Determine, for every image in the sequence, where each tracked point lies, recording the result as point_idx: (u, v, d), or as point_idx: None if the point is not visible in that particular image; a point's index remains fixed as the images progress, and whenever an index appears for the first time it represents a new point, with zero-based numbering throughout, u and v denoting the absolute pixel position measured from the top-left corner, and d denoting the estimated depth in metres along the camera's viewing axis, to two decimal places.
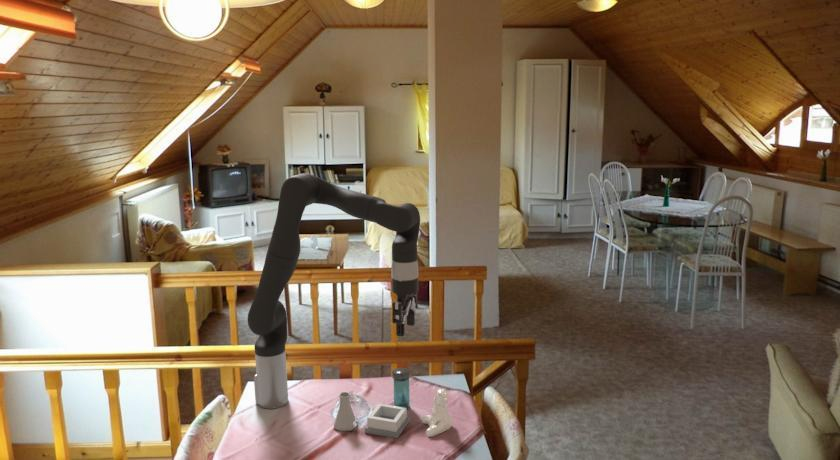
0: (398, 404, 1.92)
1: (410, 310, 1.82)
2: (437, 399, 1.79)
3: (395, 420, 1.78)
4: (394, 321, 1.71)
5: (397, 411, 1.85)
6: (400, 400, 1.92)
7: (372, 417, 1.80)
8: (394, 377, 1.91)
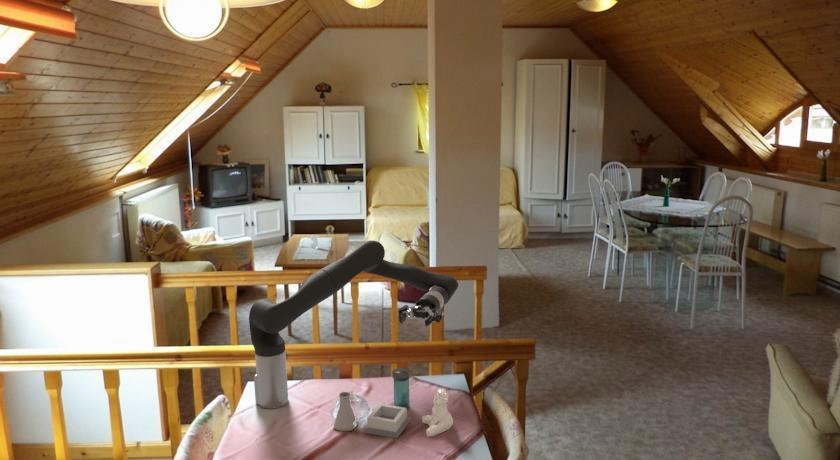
0: (398, 404, 1.92)
1: None
2: (437, 399, 1.79)
3: (395, 420, 1.78)
4: (439, 316, 2.01)
5: (397, 411, 1.85)
6: (400, 400, 1.92)
7: (372, 417, 1.80)
8: (394, 377, 1.91)
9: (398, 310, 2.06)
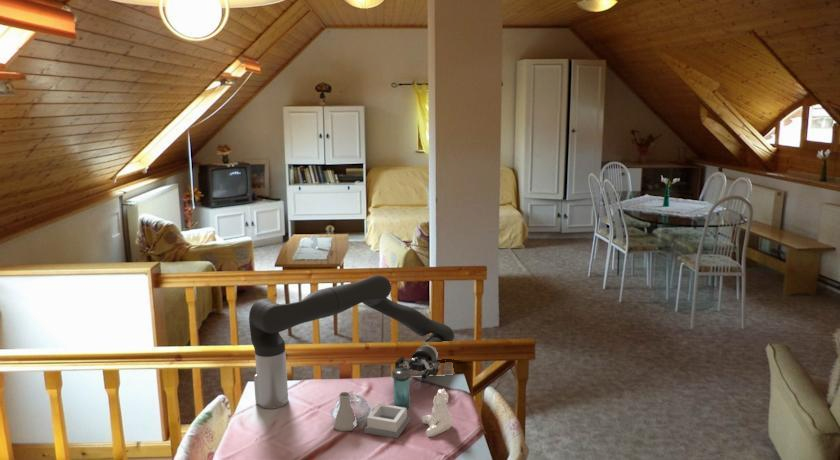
0: (398, 404, 1.92)
1: None
2: (437, 399, 1.79)
3: (395, 420, 1.78)
4: (436, 370, 2.03)
5: (397, 411, 1.85)
6: (400, 400, 1.92)
7: (372, 417, 1.80)
8: (394, 377, 1.91)
9: (395, 362, 2.07)
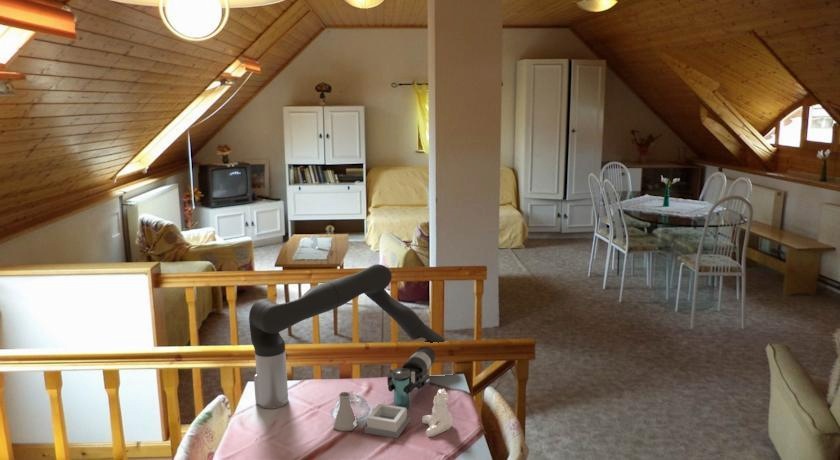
0: (398, 404, 1.92)
1: None
2: (437, 399, 1.79)
3: (395, 420, 1.78)
4: (420, 383, 1.93)
5: (397, 411, 1.85)
6: (400, 400, 1.92)
7: (372, 417, 1.80)
8: (394, 377, 1.91)
9: (387, 377, 1.97)
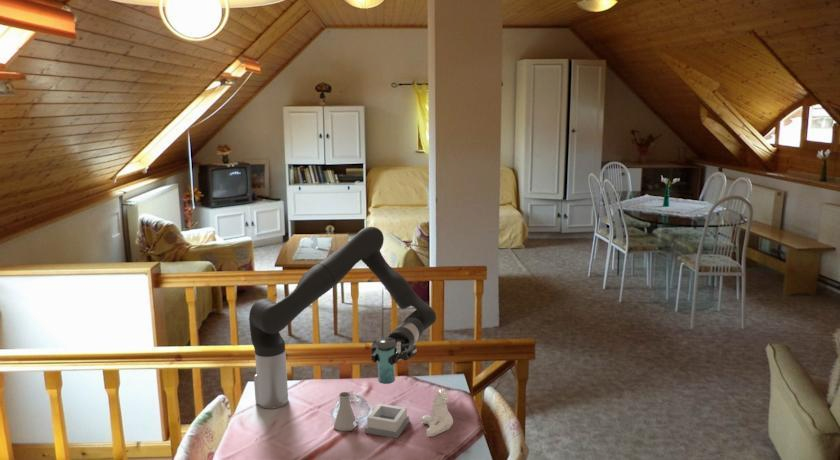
0: (382, 376, 1.78)
1: None
2: (437, 399, 1.79)
3: (395, 420, 1.78)
4: (406, 353, 1.79)
5: (397, 411, 1.85)
6: (384, 372, 1.78)
7: (372, 417, 1.80)
8: (378, 346, 1.76)
9: (371, 347, 1.83)
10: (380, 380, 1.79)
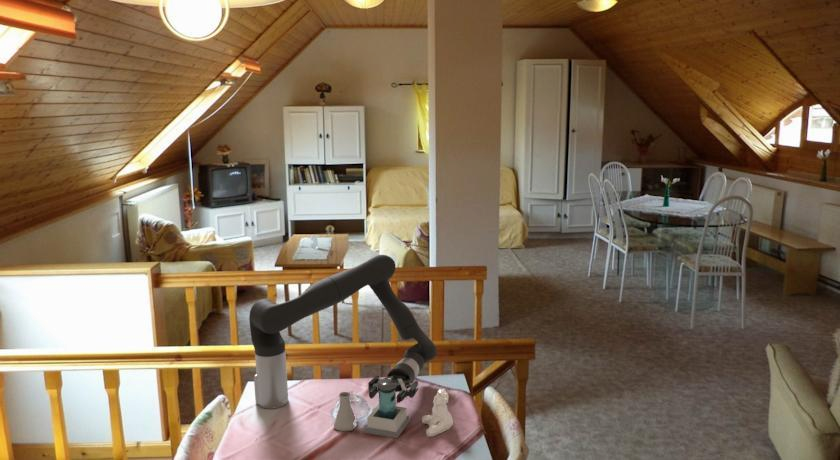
0: None
1: None
2: (437, 399, 1.79)
3: (395, 420, 1.78)
4: (413, 391, 1.82)
5: (397, 411, 1.85)
6: (385, 413, 1.80)
7: (372, 417, 1.80)
8: (379, 389, 1.79)
9: (368, 383, 1.86)
10: None
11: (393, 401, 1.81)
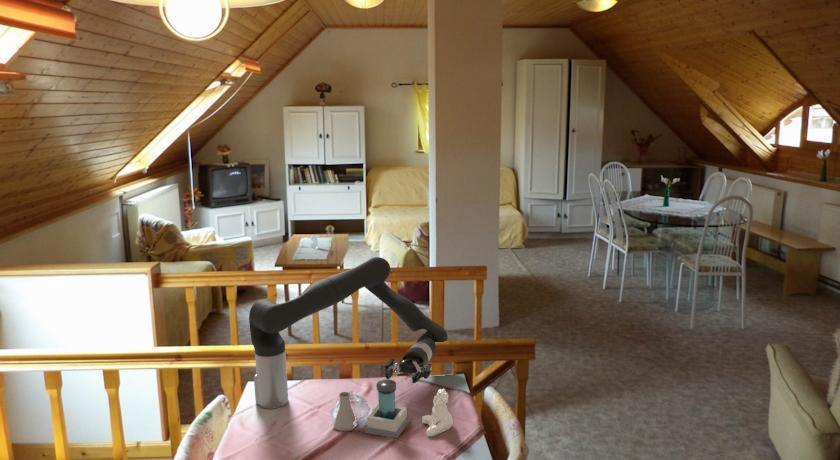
0: None
1: (392, 370, 1.97)
2: (437, 399, 1.79)
3: (395, 420, 1.78)
4: (427, 372, 1.94)
5: (397, 411, 1.85)
6: (385, 414, 1.80)
7: (372, 417, 1.80)
8: (379, 390, 1.79)
9: None
10: None
11: (393, 402, 1.81)
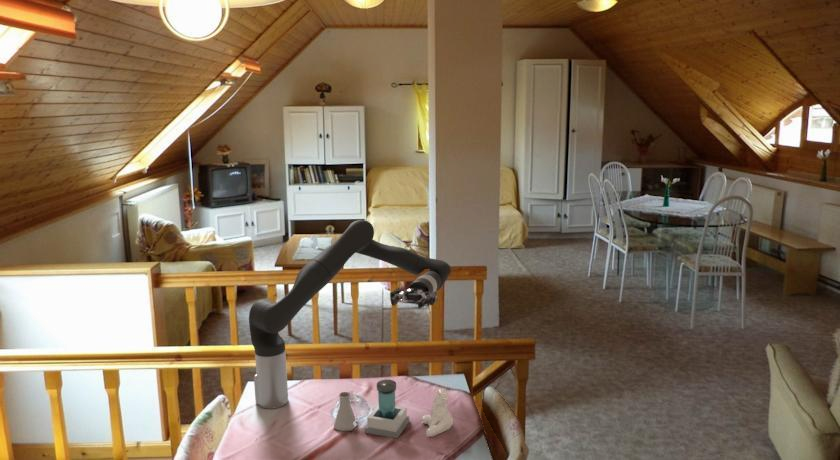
0: None
1: (398, 298, 1.98)
2: (437, 399, 1.79)
3: (395, 420, 1.78)
4: (432, 299, 1.95)
5: (397, 411, 1.85)
6: (385, 414, 1.80)
7: (372, 417, 1.80)
8: (379, 390, 1.79)
9: (390, 293, 1.99)
10: None
11: (393, 402, 1.80)
